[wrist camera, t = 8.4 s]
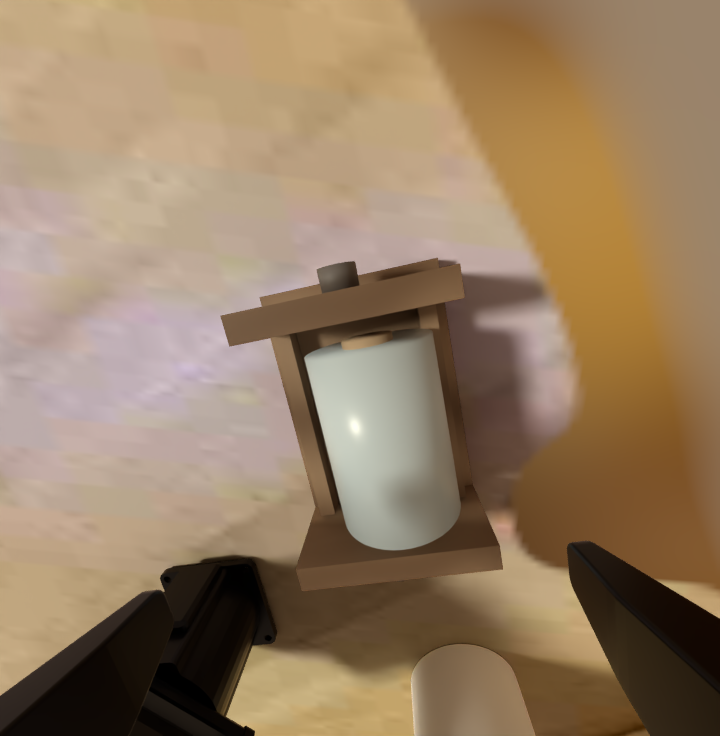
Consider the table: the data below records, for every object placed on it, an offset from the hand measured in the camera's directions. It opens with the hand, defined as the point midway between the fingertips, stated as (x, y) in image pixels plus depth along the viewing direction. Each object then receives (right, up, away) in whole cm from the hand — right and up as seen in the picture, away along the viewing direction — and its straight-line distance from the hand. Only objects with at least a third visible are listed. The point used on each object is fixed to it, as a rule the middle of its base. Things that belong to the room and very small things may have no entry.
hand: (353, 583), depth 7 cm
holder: (+1, +3, +12) cm, 12 cm away
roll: (+1, +2, +11) cm, 11 cm away
